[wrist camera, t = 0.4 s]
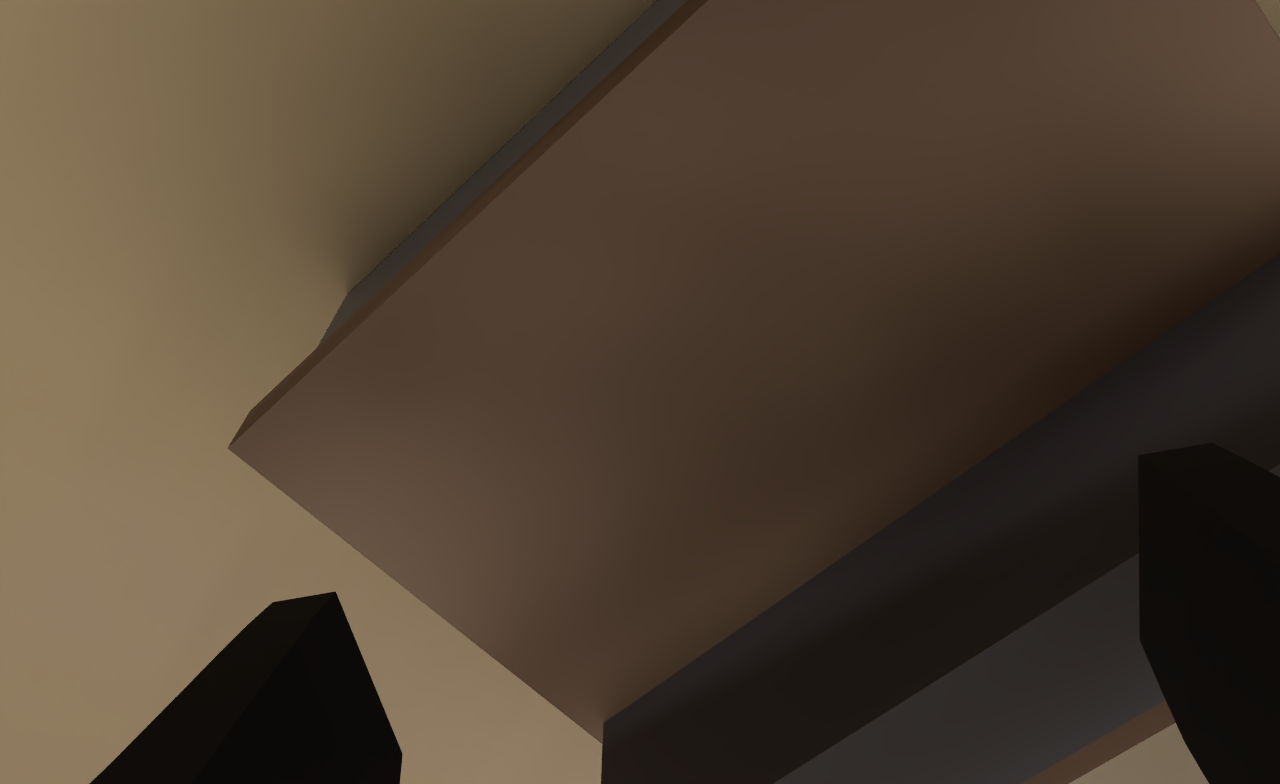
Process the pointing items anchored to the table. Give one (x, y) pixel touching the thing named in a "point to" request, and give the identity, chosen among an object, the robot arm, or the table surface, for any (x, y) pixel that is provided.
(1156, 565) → the robot arm
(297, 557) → the table surface
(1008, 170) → the lid
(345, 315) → the storage box
